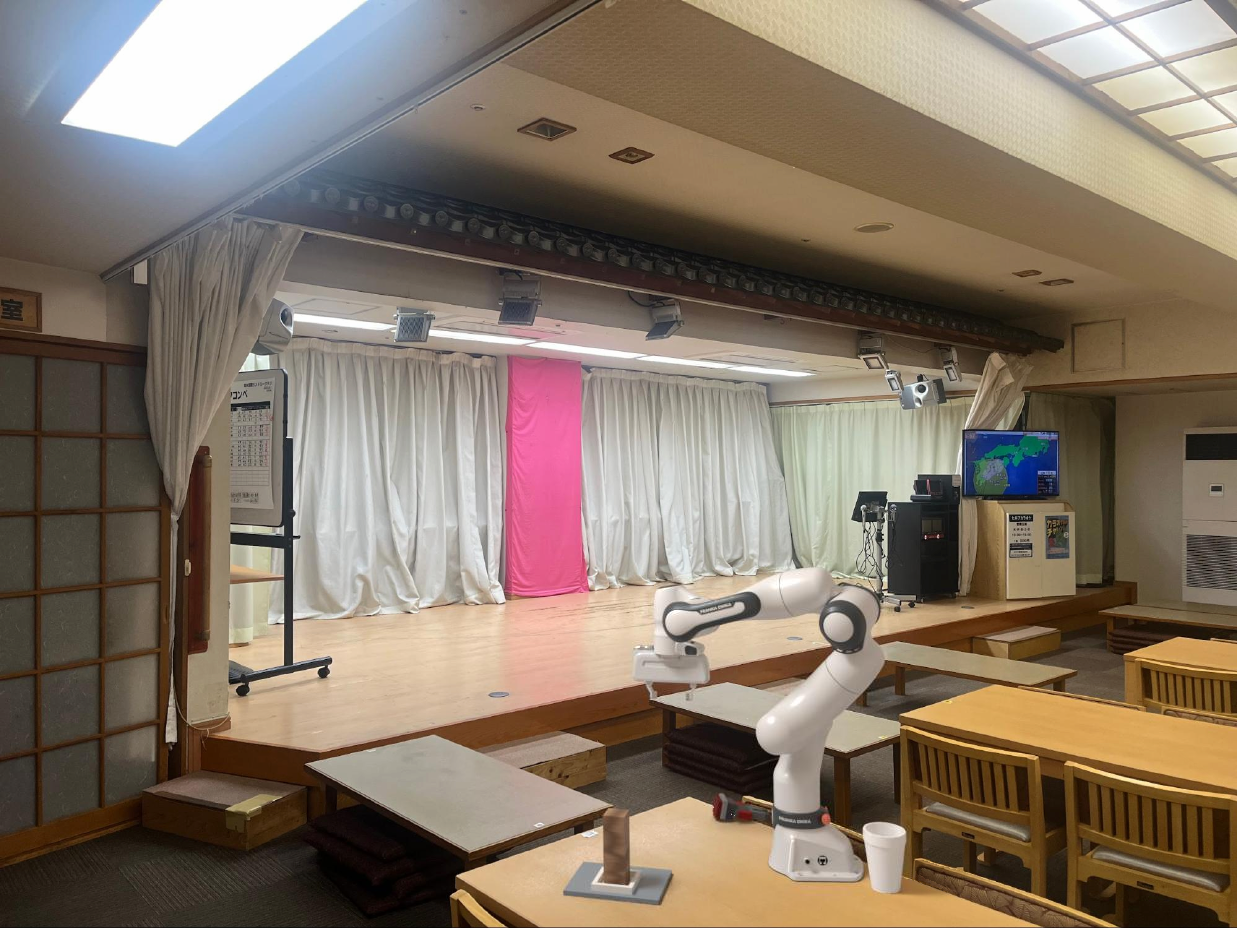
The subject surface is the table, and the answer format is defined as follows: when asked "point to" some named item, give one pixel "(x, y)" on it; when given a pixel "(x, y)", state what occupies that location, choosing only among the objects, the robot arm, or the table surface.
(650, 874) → the board
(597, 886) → the socket
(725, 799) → the toy
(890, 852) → the foam cup
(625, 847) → the pillar
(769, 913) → the table surface
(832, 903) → the table surface
